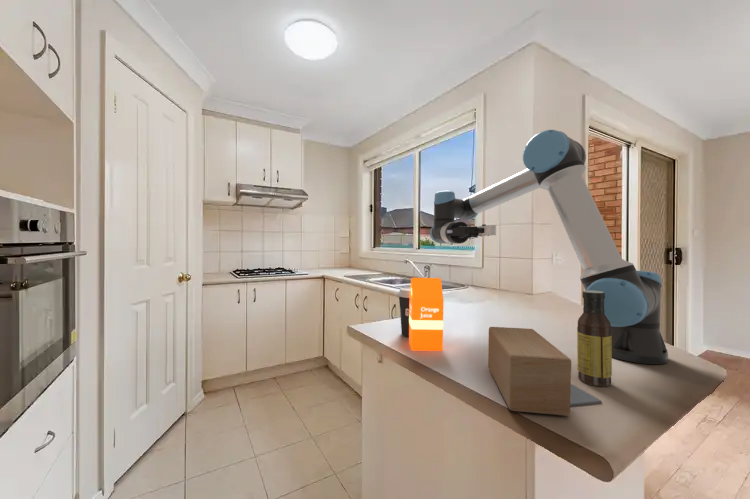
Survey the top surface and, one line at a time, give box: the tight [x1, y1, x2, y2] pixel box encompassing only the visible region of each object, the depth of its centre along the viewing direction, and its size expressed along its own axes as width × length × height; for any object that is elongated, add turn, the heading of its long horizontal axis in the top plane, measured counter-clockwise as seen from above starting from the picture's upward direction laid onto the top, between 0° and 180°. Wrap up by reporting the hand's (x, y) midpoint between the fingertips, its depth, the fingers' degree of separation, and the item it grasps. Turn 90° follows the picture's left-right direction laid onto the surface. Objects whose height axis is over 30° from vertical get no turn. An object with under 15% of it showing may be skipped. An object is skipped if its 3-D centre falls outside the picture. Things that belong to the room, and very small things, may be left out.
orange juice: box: [408, 277, 444, 352], centre depth 91 cm, size 8×9×20 cm
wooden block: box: [487, 326, 572, 416], centre depth 64 cm, size 10×10×20 cm
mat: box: [570, 383, 603, 407], centre depth 65 cm, size 14×12×1 cm
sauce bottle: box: [576, 289, 613, 388], centre depth 69 cm, size 6×6×20 cm
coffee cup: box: [397, 286, 411, 338], centre depth 103 cm, size 10×10×15 cm
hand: (493, 230), depth 86 cm, fingers closed
